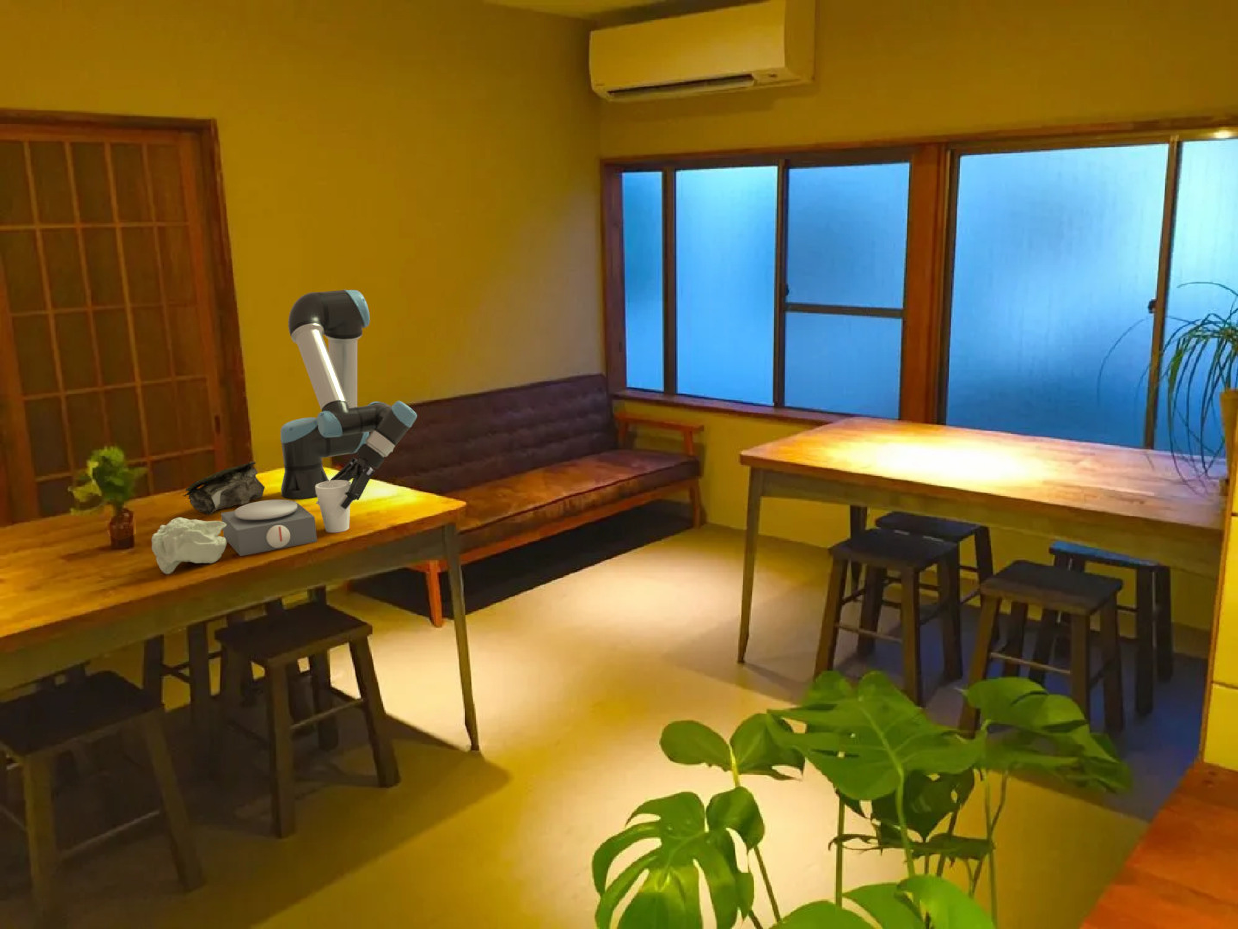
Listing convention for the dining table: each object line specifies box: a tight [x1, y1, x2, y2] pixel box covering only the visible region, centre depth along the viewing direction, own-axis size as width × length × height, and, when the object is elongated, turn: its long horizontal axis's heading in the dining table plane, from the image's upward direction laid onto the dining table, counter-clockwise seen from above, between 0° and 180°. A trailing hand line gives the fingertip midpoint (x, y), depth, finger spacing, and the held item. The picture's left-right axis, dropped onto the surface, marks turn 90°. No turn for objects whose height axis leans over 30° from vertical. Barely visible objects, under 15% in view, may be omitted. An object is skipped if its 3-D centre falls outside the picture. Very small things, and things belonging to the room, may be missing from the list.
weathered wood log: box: [182, 461, 265, 516], centre depth 313 cm, size 28×13×15 cm
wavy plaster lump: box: [151, 516, 228, 575], centre depth 259 cm, size 18×13×16 cm
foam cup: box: [315, 479, 352, 533], centre depth 286 cm, size 10×9×13 cm
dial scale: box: [220, 499, 318, 557], centre depth 279 cm, size 21×20×9 cm
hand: (326, 511), depth 285 cm, fingers open, 12 cm apart
